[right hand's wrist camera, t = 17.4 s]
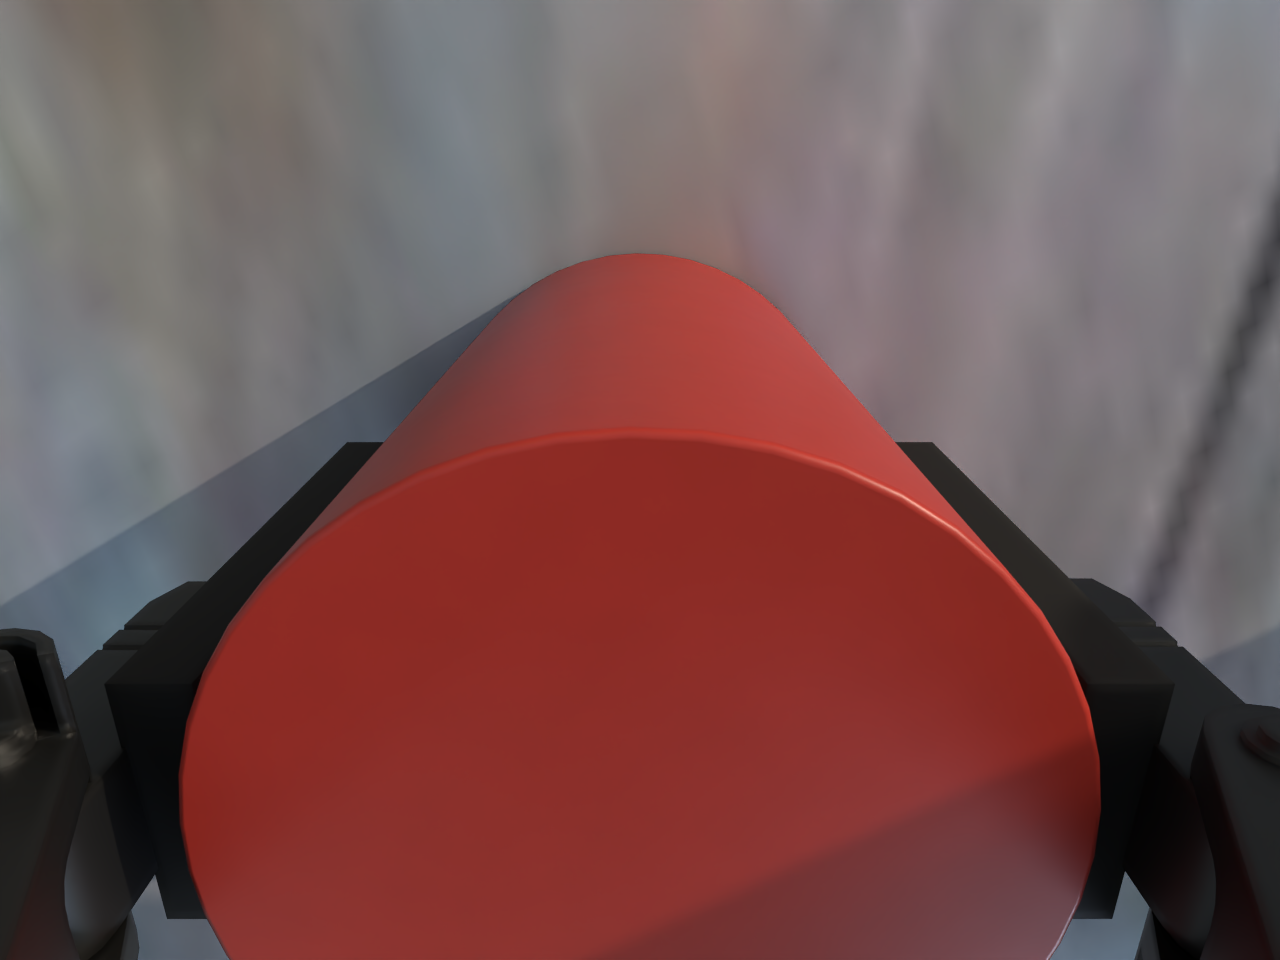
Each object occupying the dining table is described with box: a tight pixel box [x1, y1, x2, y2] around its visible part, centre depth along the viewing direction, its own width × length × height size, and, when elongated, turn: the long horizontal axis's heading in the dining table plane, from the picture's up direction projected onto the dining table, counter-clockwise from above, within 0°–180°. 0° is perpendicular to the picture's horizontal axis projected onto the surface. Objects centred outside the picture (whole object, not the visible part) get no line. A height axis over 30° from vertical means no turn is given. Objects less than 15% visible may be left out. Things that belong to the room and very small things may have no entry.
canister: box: [179, 254, 1101, 960], centre depth 12 cm, size 8×8×11 cm
